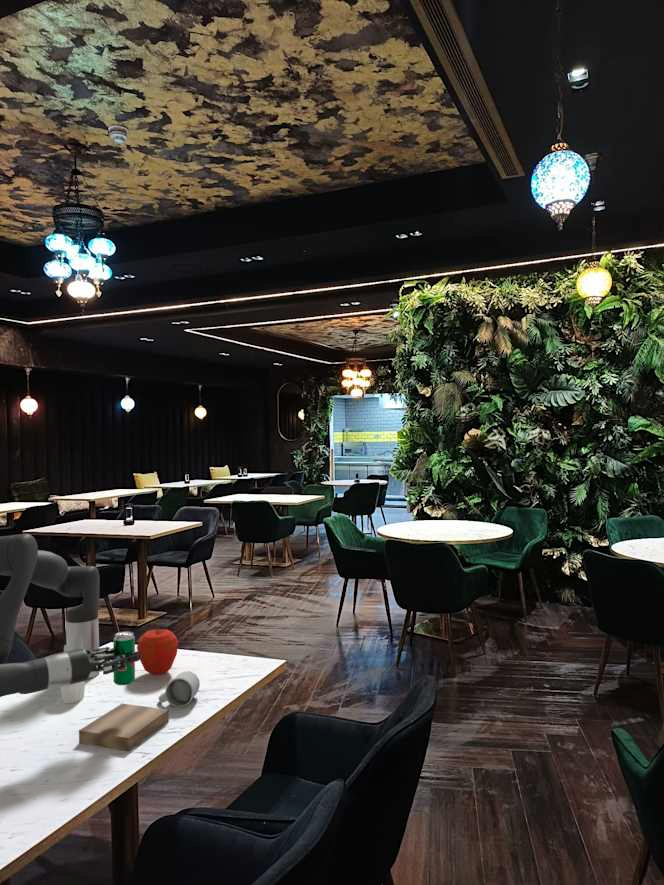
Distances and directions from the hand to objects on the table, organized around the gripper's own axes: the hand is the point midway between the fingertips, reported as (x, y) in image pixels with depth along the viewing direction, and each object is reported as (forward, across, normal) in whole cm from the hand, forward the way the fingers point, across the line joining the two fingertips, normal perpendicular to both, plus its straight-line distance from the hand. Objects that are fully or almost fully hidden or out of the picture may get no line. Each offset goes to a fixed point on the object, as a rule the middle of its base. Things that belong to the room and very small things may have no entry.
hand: (134, 653), depth 158 cm
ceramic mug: (+15, +5, +18) cm, 24 cm away
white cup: (-6, +28, +18) cm, 34 cm away
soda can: (-3, 0, +7) cm, 7 cm away
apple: (+20, +29, +18) cm, 39 cm away
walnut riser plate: (-3, -2, +18) cm, 18 cm away
